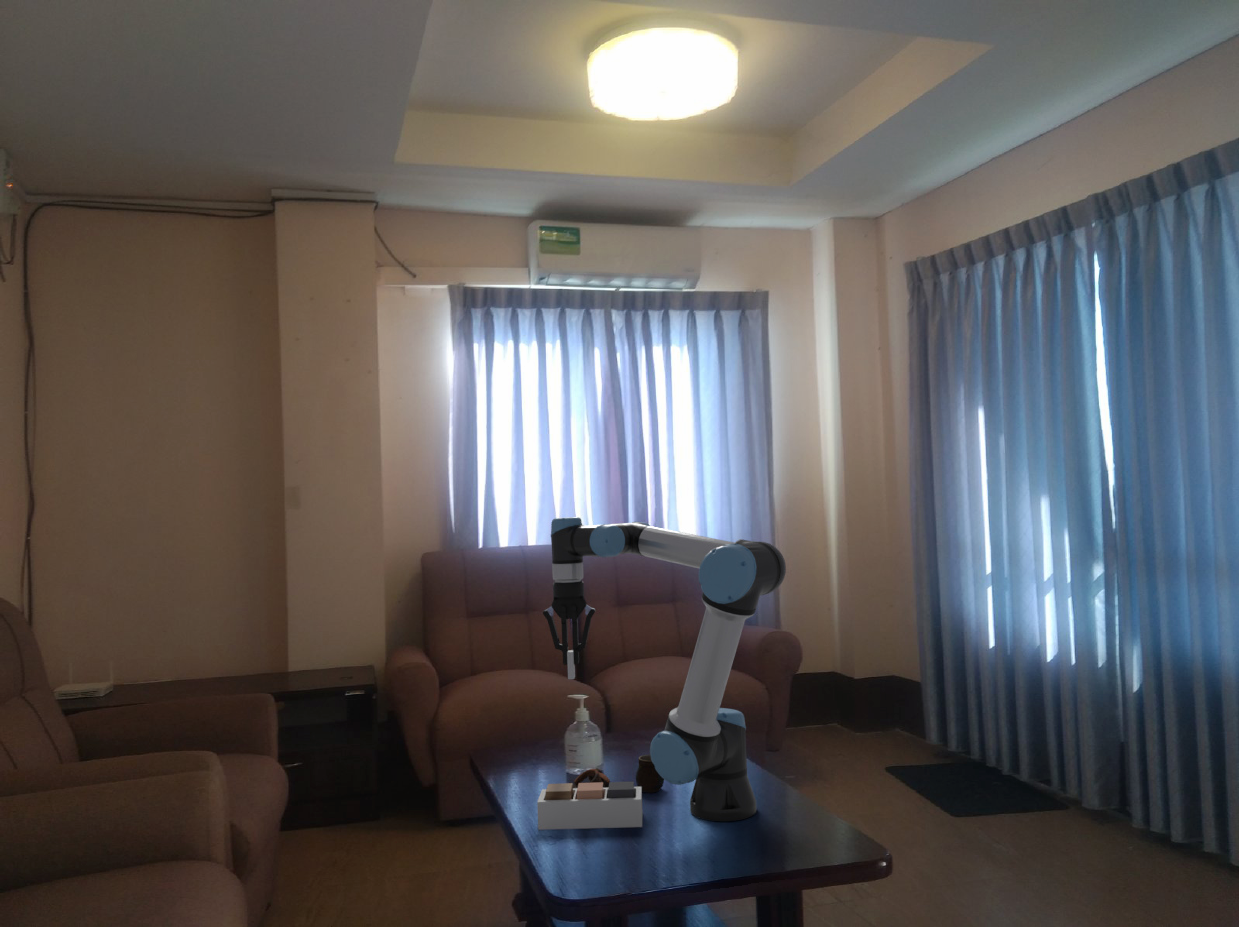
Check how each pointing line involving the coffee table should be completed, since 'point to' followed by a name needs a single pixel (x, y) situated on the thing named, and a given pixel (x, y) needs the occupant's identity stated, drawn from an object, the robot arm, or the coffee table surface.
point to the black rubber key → (621, 790)
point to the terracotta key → (590, 791)
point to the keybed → (590, 812)
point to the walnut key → (559, 791)
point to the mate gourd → (648, 775)
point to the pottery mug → (592, 777)
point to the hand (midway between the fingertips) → (571, 678)
